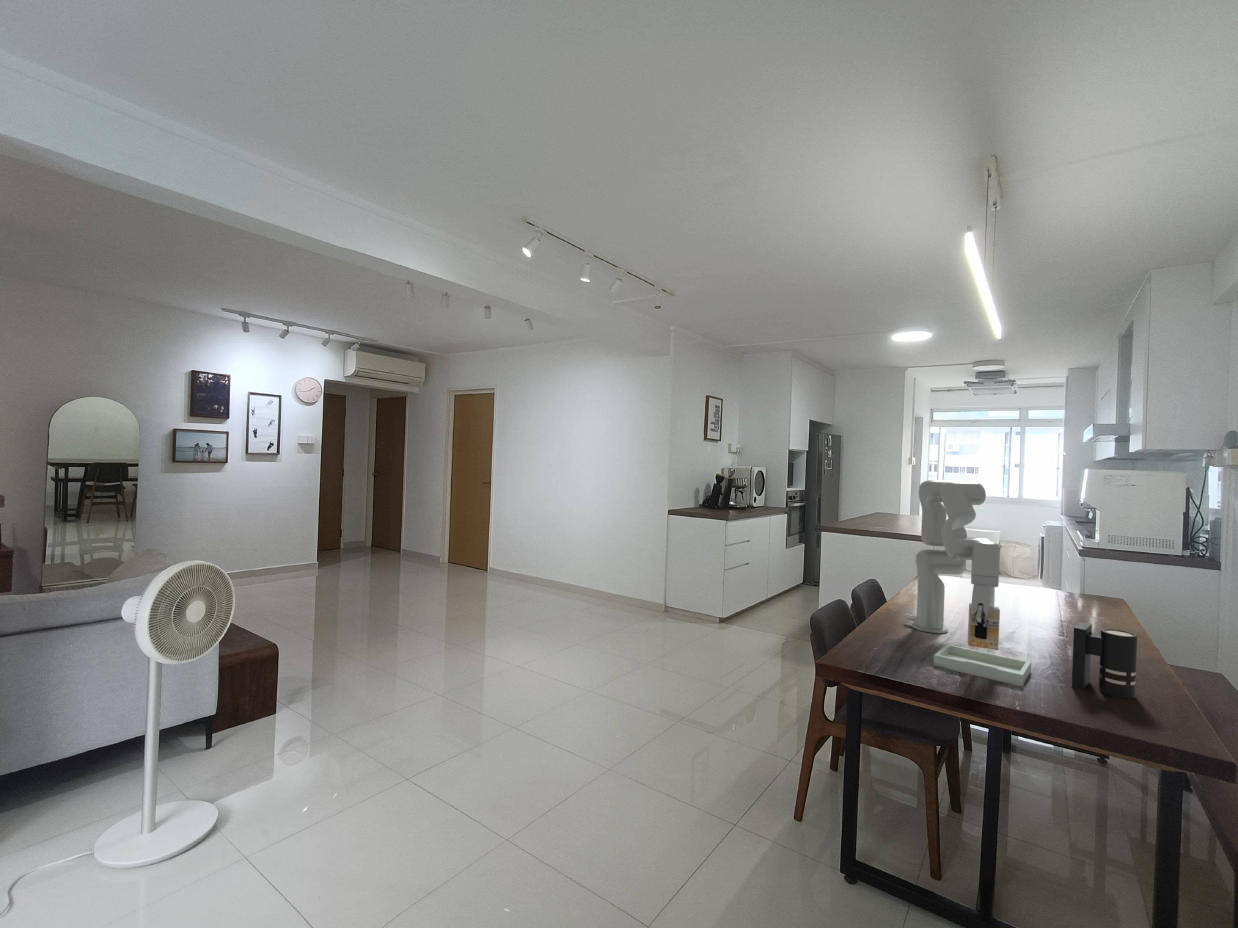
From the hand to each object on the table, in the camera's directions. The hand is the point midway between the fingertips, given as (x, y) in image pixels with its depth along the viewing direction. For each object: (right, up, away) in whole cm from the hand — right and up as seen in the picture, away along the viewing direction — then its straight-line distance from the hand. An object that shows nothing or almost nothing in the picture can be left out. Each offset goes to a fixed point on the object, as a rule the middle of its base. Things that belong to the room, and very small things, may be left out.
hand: (982, 635), depth 188 cm
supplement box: (0, -4, 0) cm, 4 cm away
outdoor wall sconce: (+27, -12, -15) cm, 33 cm away
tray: (0, -11, 0) cm, 11 cm away
